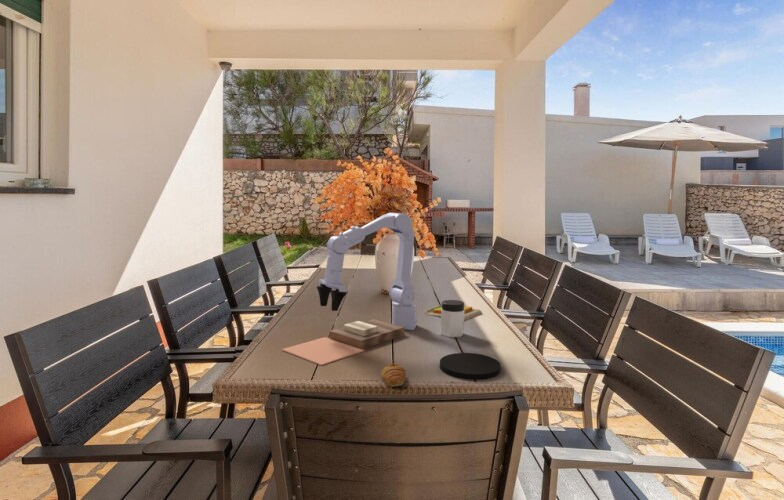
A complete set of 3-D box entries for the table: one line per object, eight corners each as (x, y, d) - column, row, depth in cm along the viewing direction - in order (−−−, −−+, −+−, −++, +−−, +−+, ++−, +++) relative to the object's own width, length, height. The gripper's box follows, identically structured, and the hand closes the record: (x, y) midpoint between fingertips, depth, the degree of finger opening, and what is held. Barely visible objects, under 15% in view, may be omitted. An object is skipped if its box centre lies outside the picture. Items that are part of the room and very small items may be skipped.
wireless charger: (469, 355, 153) (469, 349, 153) (513, 372, 139) (513, 365, 139) (427, 366, 142) (427, 360, 142) (470, 386, 128) (470, 379, 128)
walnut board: (373, 326, 183) (373, 318, 183) (404, 335, 172) (404, 327, 172) (329, 339, 167) (329, 330, 166) (361, 349, 156) (361, 340, 156)
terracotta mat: (324, 338, 168) (324, 337, 168) (364, 351, 155) (364, 350, 154) (281, 350, 155) (281, 349, 154) (321, 365, 141) (321, 364, 141)
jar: (443, 329, 180) (444, 298, 178) (465, 331, 177) (466, 300, 176) (438, 336, 171) (439, 304, 170) (461, 338, 169) (462, 305, 167)
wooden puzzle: (446, 307, 217) (446, 300, 216) (482, 314, 205) (483, 306, 204) (423, 315, 203) (424, 307, 203) (461, 323, 191) (462, 314, 191)
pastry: (409, 388, 126) (409, 374, 126) (384, 389, 125) (384, 375, 125) (403, 374, 136) (403, 361, 135) (380, 376, 135) (380, 363, 134)
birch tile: (357, 326, 173) (357, 320, 172) (377, 331, 166) (377, 326, 166) (343, 330, 167) (343, 324, 167) (363, 336, 161) (363, 330, 161)
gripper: (313, 266, 170) (308, 303, 170) (335, 272, 158) (330, 312, 159) (330, 267, 174) (325, 303, 175) (352, 274, 163) (347, 312, 163)
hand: (328, 308), depth 167 cm, fingers open, 7 cm apart
